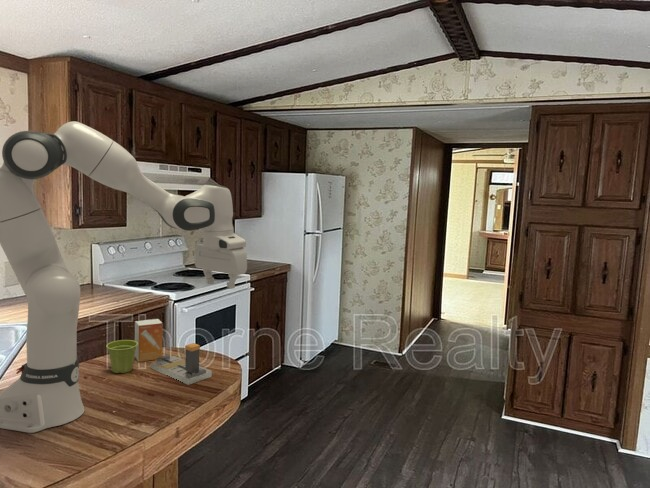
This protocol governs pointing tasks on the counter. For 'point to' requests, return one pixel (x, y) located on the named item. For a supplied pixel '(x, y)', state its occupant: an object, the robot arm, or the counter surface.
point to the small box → (148, 339)
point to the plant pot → (122, 355)
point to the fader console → (179, 369)
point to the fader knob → (192, 357)
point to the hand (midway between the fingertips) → (220, 285)
